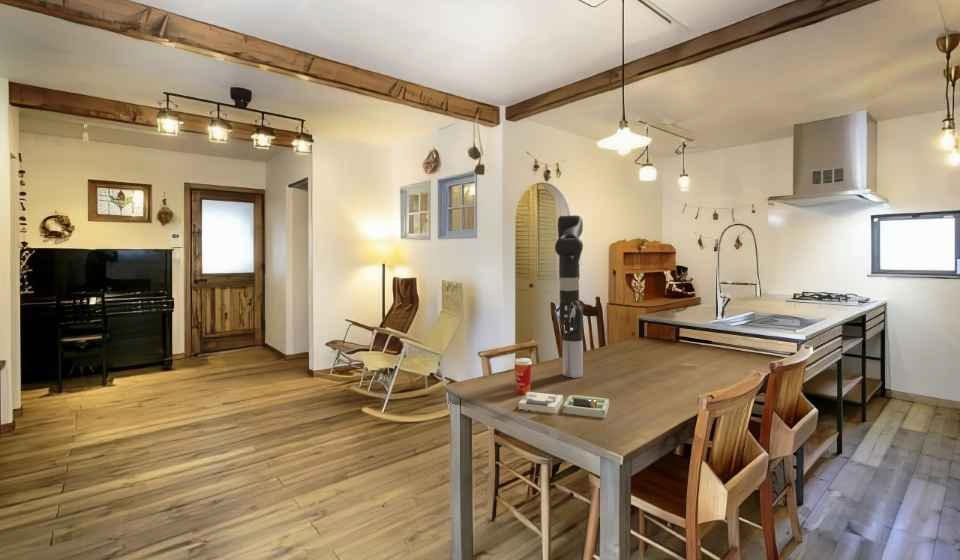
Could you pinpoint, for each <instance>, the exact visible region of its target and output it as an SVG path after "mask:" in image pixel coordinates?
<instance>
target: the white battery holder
mask: <svg viewBox="0 0 960 560" xmlns="http://www.w3.org/2000/svg"><path fill="white" fill-rule="evenodd" d="M563 402H564V395H563V394H554V393H553V394H551V393H542V392H533V391H530V392H527V393H526V394H525V395H524V396H523V397H522V398H521V400H520V401H519V402H518V410H520V409H523V410H522V411H528V410H531V411H530V412H537V411H539V412H538V413H546V412H547V414H554V413H555V414H556V413H557V412H558V410H559V409H560V407H561V406H562V404H563Z"/></svg>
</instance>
